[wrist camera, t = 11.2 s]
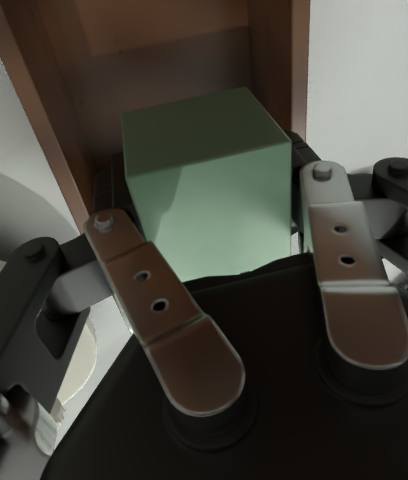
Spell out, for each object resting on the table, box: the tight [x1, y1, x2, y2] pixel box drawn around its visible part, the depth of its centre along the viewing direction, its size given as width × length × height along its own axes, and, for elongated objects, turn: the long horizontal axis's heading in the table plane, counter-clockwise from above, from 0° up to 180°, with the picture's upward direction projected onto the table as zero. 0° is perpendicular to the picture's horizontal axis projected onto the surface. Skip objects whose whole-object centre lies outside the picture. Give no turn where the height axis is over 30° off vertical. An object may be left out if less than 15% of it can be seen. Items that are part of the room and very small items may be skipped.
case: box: [0, 0, 310, 234], centre depth 20 cm, size 15×12×7 cm
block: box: [121, 87, 292, 282], centre depth 13 cm, size 4×4×4 cm
